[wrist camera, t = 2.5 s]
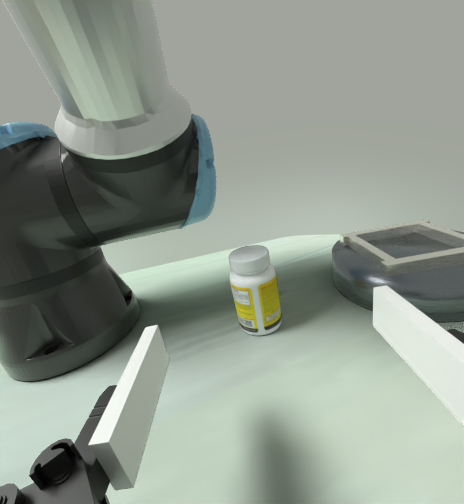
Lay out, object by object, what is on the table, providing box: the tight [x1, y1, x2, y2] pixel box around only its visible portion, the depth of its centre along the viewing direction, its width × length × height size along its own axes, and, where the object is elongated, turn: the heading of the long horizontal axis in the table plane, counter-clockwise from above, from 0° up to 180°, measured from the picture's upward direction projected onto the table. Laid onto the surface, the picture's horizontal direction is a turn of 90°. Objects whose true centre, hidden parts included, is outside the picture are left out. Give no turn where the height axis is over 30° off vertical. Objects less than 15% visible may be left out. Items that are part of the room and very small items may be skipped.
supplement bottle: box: [229, 245, 282, 335], centre depth 25 cm, size 5×5×8 cm
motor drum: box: [332, 220, 464, 322], centre depth 28 cm, size 16×16×5 cm
